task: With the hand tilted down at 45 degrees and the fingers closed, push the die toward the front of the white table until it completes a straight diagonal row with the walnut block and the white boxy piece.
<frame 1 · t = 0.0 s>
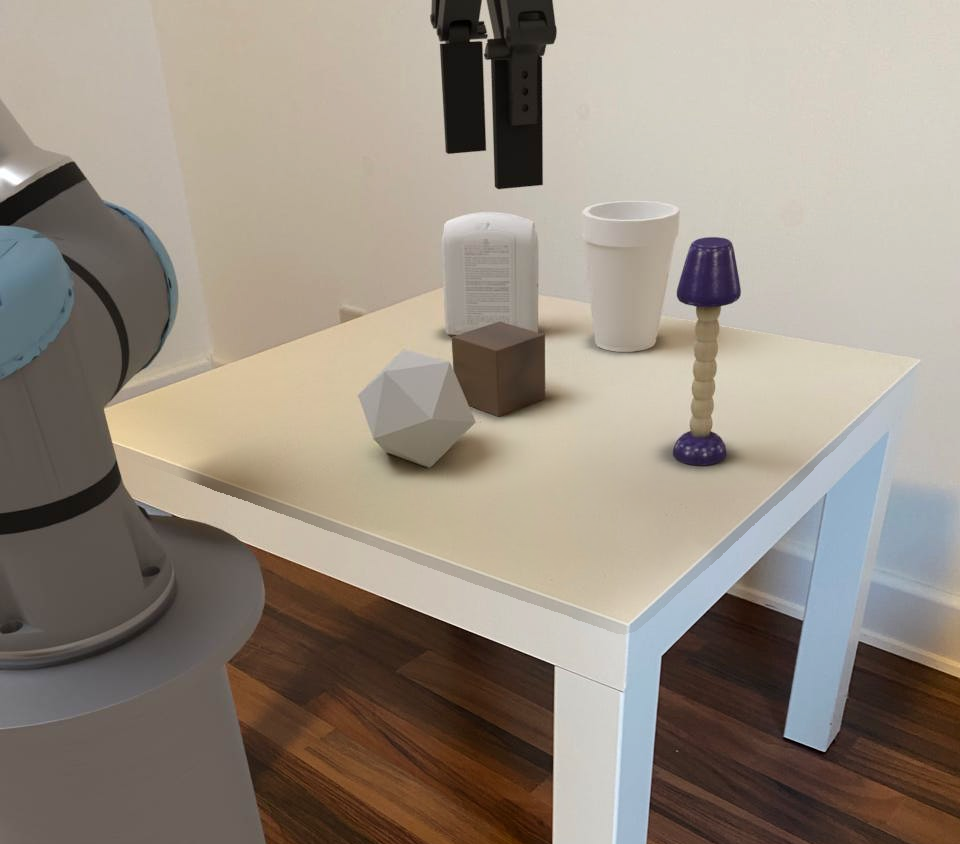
hand: (490, 168, 64), 23 cm above the table, tool pointing down, fingers open, 13 cm apart
foam cup: (625, 343, 106), on the table
white boxy piece: (492, 334, 111), on the table
toy lamp: (695, 457, 82), on the table
die: (420, 456, 85), on the table
walnut block: (500, 399, 94), on the table
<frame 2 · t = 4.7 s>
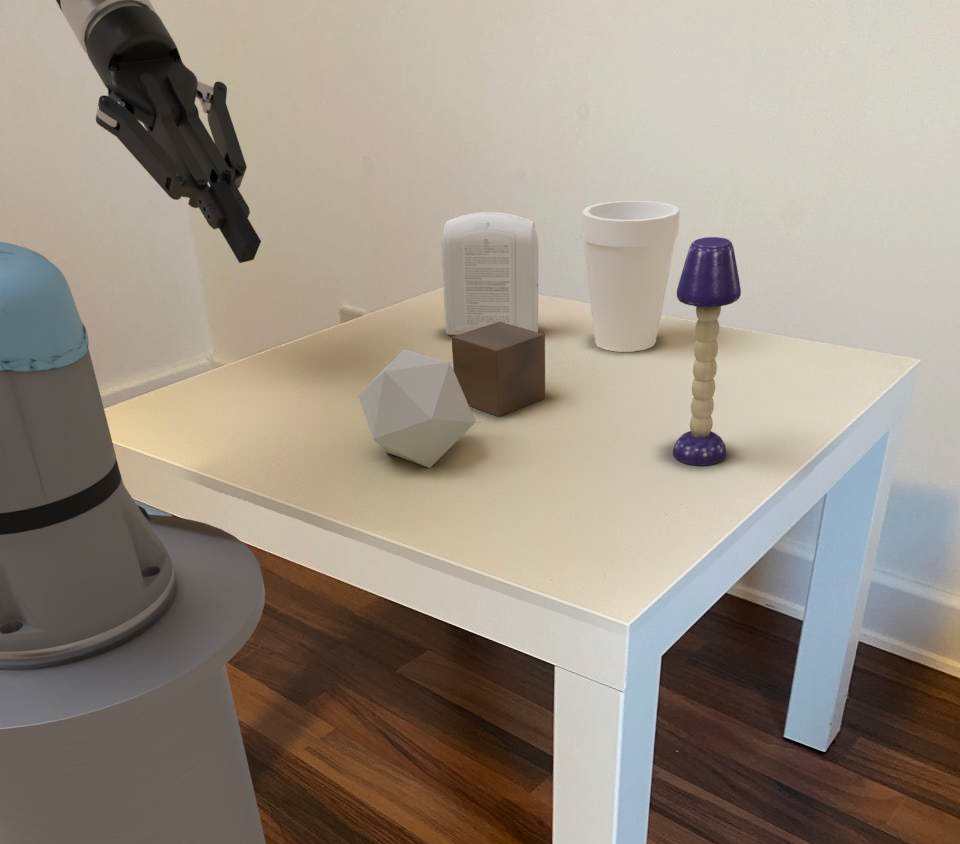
hand: (250, 252, 92), 13 cm above the table, tool tilted 45°, fingers closed
nothing on the table moved.
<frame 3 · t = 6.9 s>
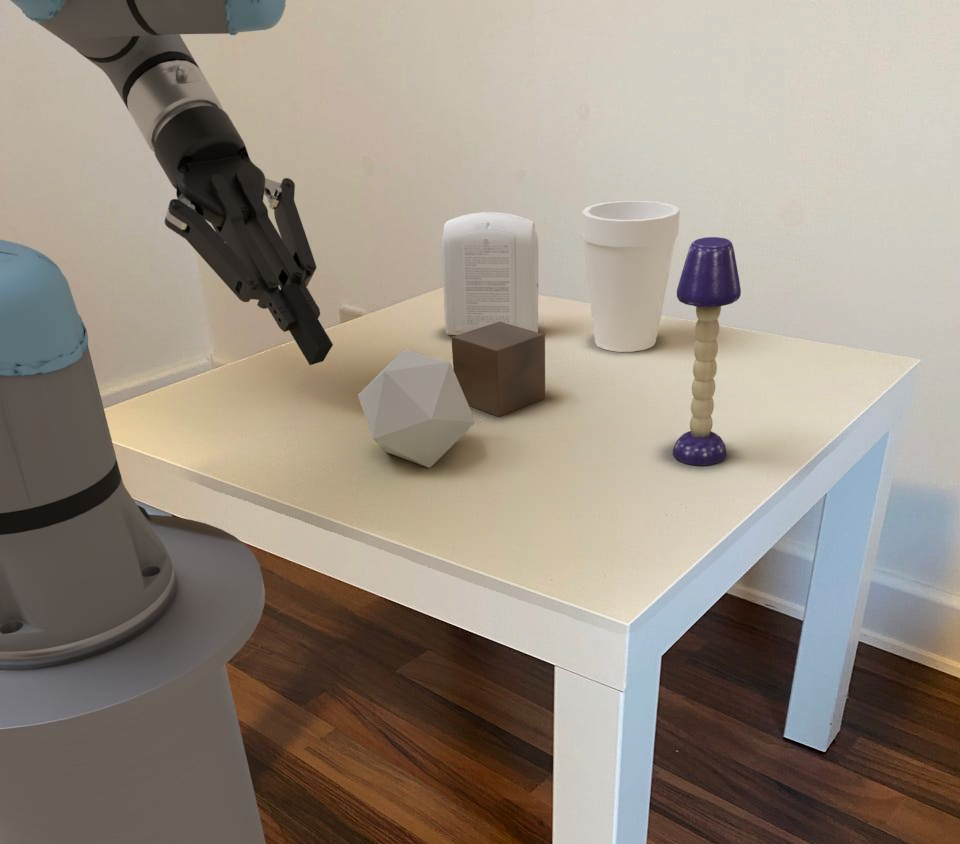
hand: (321, 354, 90), 6 cm above the table, tool tilted 45°, fingers closed
nothing on the table moved.
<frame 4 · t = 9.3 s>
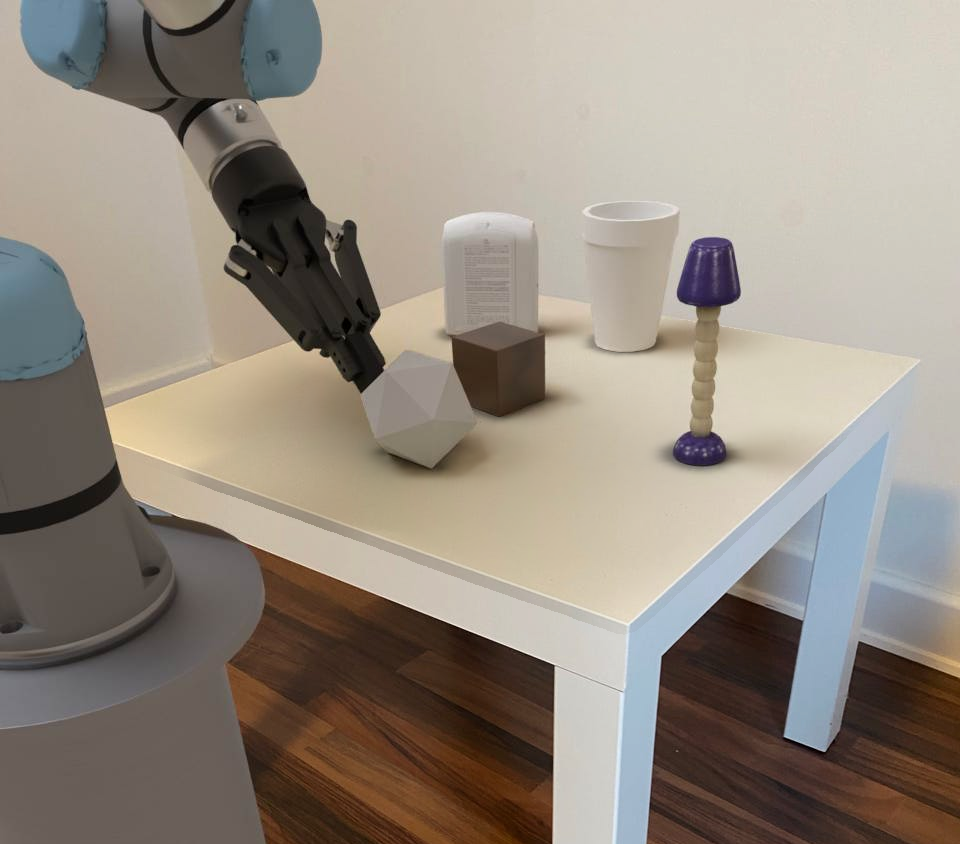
hand: (387, 406, 85), 3 cm above the table, tool tilted 45°, fingers closed
die: (422, 456, 85), on the table, touching gripper
everything else where it was.
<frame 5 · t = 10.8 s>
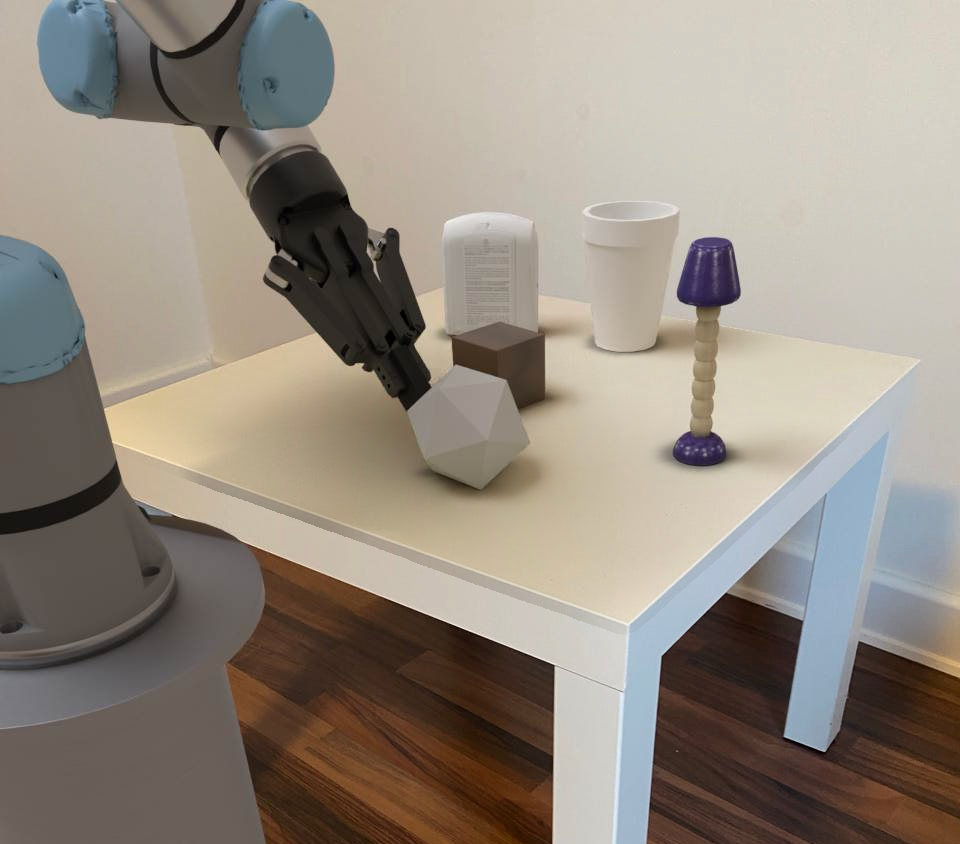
hand: (433, 423, 82), 3 cm above the table, tool tilted 45°, fingers closed
die: (469, 476, 81), on the table, touching gripper
everything else where it was.
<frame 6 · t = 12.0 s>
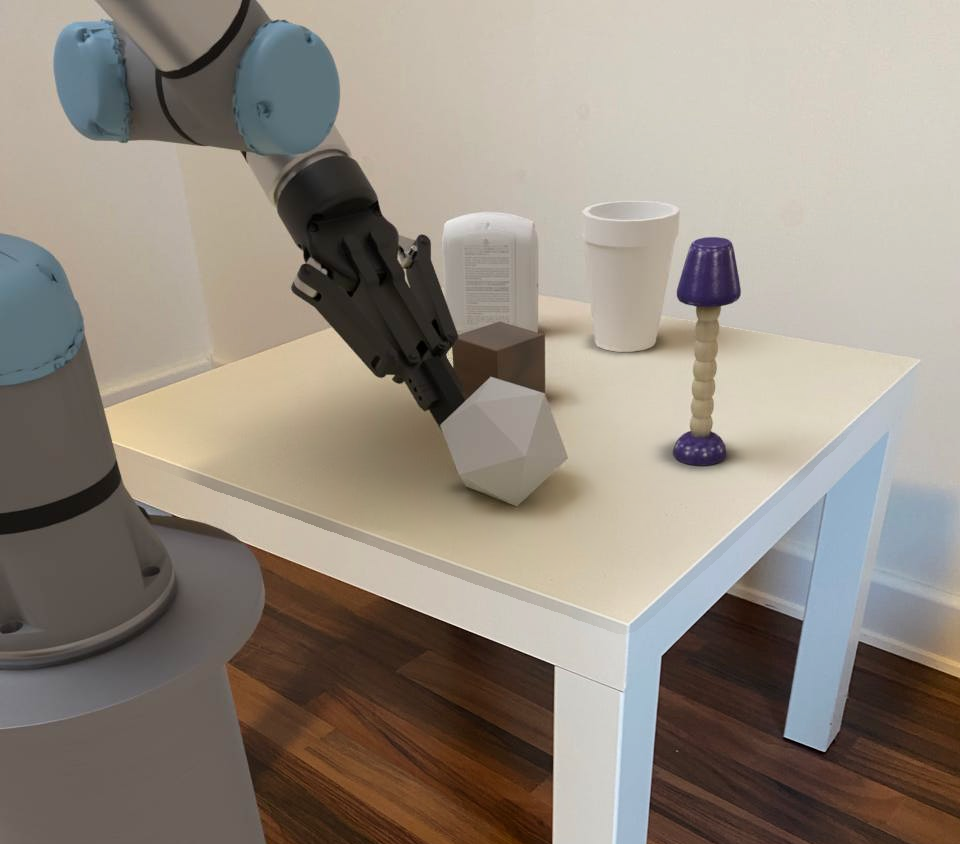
hand: (466, 437, 79), 3 cm above the table, tool tilted 45°, fingers closed
die: (504, 491, 78), on the table, touching gripper
everything else where it was.
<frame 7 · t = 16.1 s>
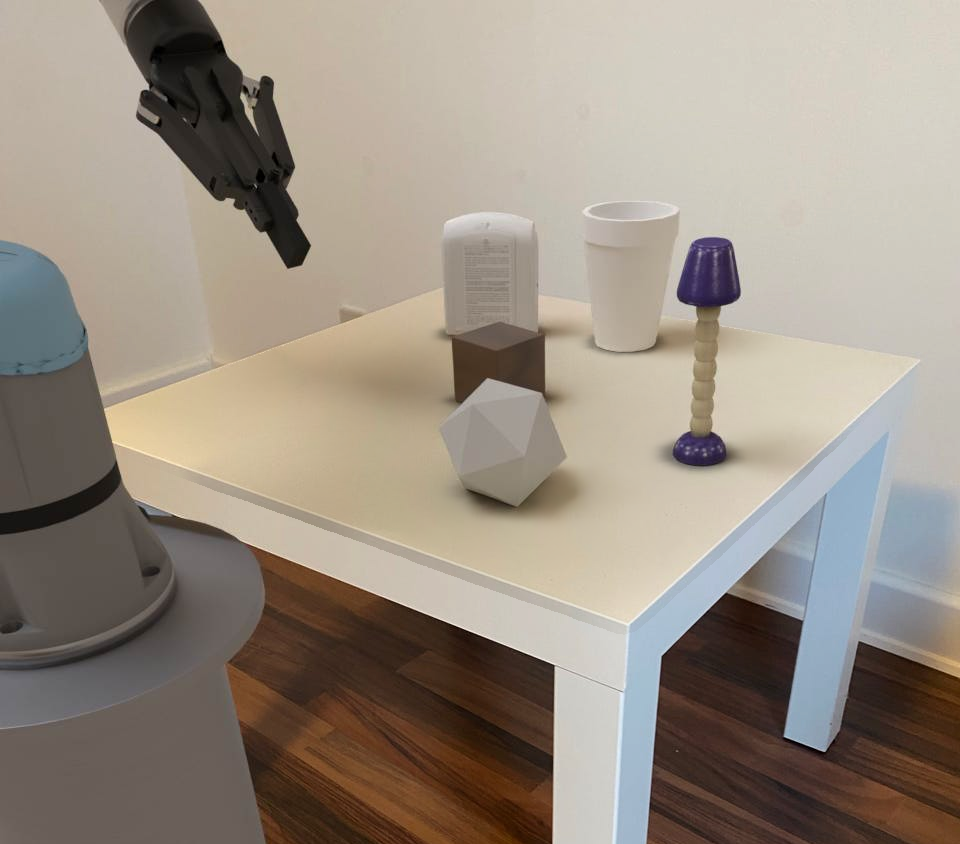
hand: (299, 257, 86), 14 cm above the table, tool tilted 45°, fingers closed
die: (503, 492, 78), on the table
everything else where it was.
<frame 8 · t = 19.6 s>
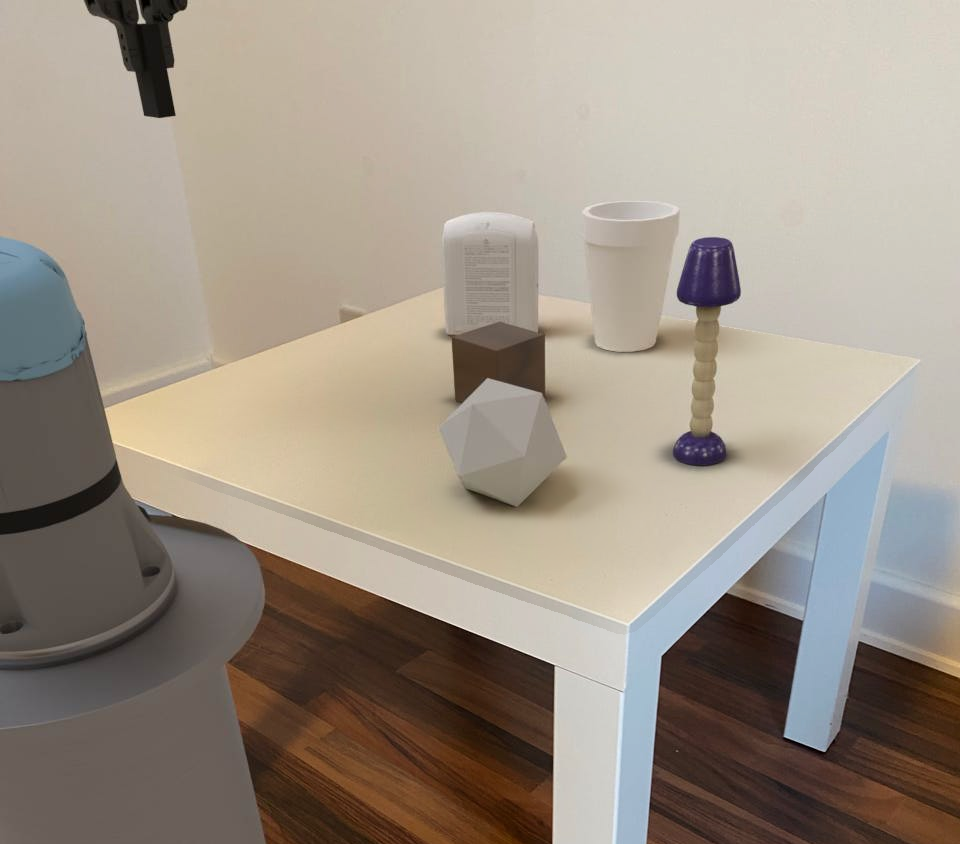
hand: (159, 115, 84), 24 cm above the table, tool pointing down, fingers closed
nothing on the table moved.
at the end: die tilted 0°; walnut block moved 0.0 cm from its start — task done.
